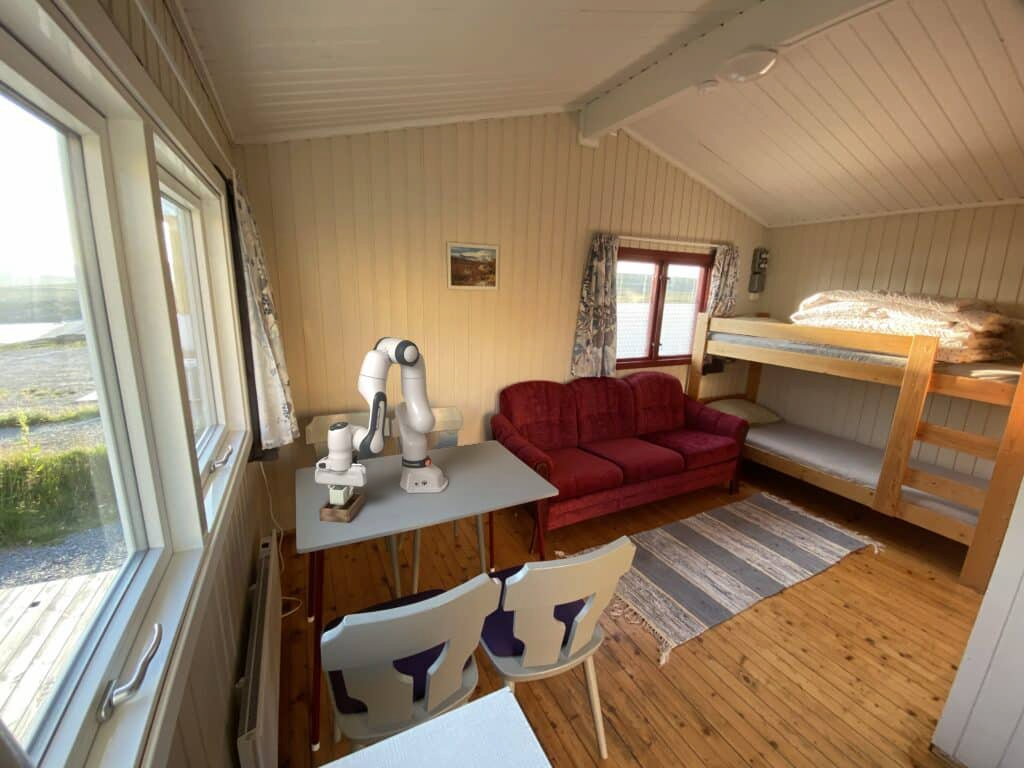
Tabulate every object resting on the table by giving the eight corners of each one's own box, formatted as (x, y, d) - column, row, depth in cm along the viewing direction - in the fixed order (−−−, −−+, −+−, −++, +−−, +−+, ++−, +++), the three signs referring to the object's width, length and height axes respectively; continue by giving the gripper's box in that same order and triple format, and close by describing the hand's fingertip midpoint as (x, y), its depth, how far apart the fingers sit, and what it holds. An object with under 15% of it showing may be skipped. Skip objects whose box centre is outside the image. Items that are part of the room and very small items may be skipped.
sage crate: (353, 494, 179) (352, 481, 178) (343, 505, 171) (343, 491, 169) (340, 493, 180) (339, 480, 178) (330, 503, 171) (329, 490, 170)
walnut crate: (364, 504, 184) (364, 493, 183) (349, 523, 169) (349, 511, 168) (337, 502, 184) (336, 491, 183) (320, 520, 170) (319, 509, 169)
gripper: (368, 461, 174) (369, 492, 177) (319, 457, 175) (321, 488, 178) (362, 467, 168) (363, 499, 171) (312, 463, 169) (313, 495, 172)
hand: (341, 493), depth 175 cm, fingers closed on sage crate, 5 cm apart
